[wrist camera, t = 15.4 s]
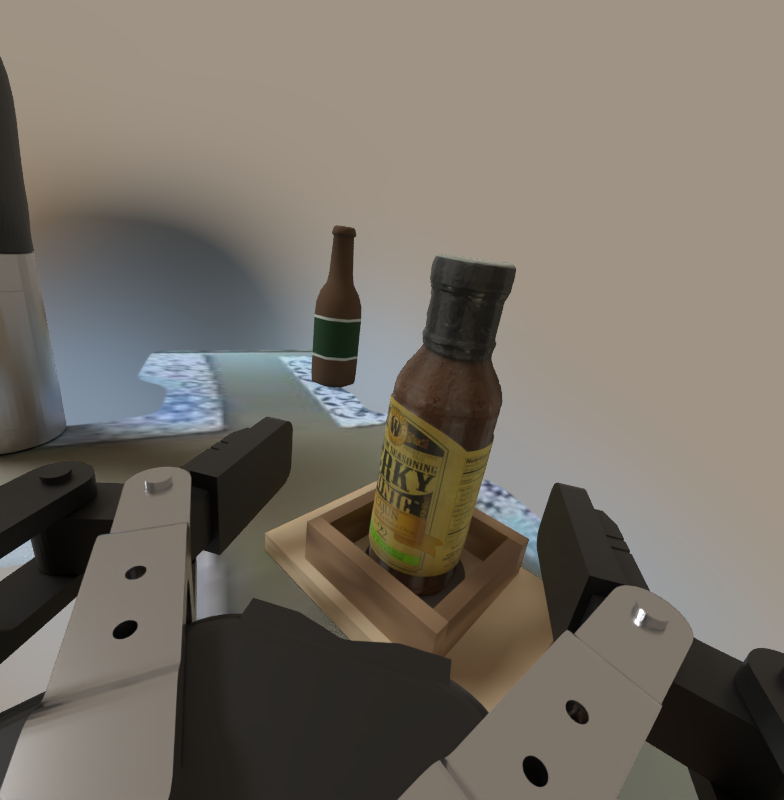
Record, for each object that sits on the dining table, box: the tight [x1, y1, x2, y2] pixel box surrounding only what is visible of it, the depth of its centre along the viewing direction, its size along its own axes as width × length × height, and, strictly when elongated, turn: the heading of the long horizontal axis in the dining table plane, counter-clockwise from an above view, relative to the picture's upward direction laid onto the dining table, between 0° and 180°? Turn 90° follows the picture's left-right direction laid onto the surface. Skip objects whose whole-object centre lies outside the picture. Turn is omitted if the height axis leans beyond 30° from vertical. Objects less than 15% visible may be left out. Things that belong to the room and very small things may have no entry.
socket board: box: [265, 481, 554, 712], centre depth 26 cm, size 18×12×4 cm, turn 47°
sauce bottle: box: [369, 254, 516, 595], centre depth 23 cm, size 6×6×20 cm
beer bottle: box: [312, 226, 361, 387], centre depth 62 cm, size 8×8×24 cm
